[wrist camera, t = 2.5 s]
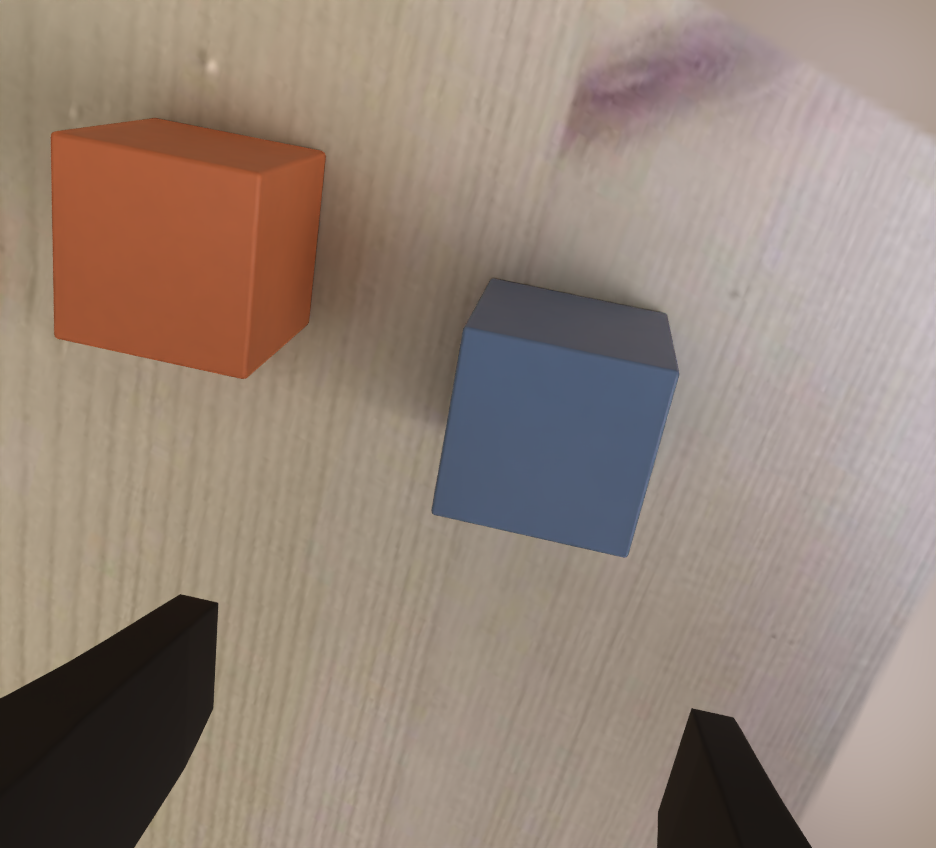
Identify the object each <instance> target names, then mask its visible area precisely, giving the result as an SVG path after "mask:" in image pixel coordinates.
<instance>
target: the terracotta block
mask: <svg viewBox="0 0 936 848" xmlns="http://www.w3.org/2000/svg"><path fill="white" fill-rule="evenodd" d="M325 158H326V156H325V153H324V152H323V151H320V150H315V149H310V148H305V147H300V146H295V145H290V144H284V143H279V142H274V141H269V140H264V139H259V138H254V137H249V136H244V135H239V134H234V133H229V132H224V131H219V130H214V129H209V128H203V127H198V126H193V125H188V124H183V123H178V122H173V121H168V120H163V119H158V118H151V119H143V120H136V121H128V122H121V123H113V124H106V125H98V126H91V127H83V128H76V129H68V130H61V131H55V132H52V134H51V178H52V233H53V288H54V335H55V337H56V338H57V339H61V340H66V341H71V342H75V343H80V344H84V345H89V346H94V347H98V348H103V349H107V350H112V351H117V352H121V353H126V354H130V355H135V356H140V357H144V358H149V359H153V360H158V361H163V362H167V363H172V364H176V365H181V366H186V367H190V368H195V369H199V370H204V371H208V372H213V373H218V374H222V375H227V376H231V377H236V378H241V379H245V378H247V377H248V376H250V375H251V374H252V373H253V372H254V371H255V370H256V369H258V368H259V367H260V366H261V365H262V364H263V363H264V362H266V361H267V360H268V359H269V358H270V357H271V356H272V355H274V354H275V353H276V352H277V351H278V350H279V349H280V348H282V347H283V346H284V345H285V344H286V343H287V342H288V341H290V340H291V339H292V338H293V337H294V336H295V335H296V334H298V333H299V332H300V331H301V330H302V329H303V328H304V327H306V326H307V325H308V323H309V316H310V306H311V296H312V286H313V276H314V266H315V257H316V247H317V237H318V227H319V217H320V207H321V197H322V188H323V178H324V168H325Z"/></svg>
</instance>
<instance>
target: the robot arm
mask: <svg viewBox="0 0 936 848" xmlns="http://www.w3.org/2000/svg"><path fill="white" fill-rule="evenodd" d="M217 621H218V603H217V602H213V601H208V600H204V599H199V598H195V597H190V596H186V595H181V594H180V595H178V596H177V597H175V598H173V599H172V600H170V601H168V602H167V603H165V604H163V605H162V606H160V607H158V608H157V609H155V610H154V611H152V612H150V613H149V614H147V615H145V616H144V617H142V618H141V619H139V620H137V621H136V622H134V623H132V624H131V625H129V626H128V627H126V628H124V629H123V630H121V631H120V632H118V633H116V634H115V635H113V636H111V637H110V638H108V639H107V640H105V641H103V642H102V643H100V644H98V645H96V646H95V647H93V648H91V649H90V650H88V651H86V652H85V653H83V654H81V655H80V656H78V657H76V658H74V659H73V660H71V661H69V662H68V663H66V664H64V665H62V666H60V667H59V668H57V669H55V670H53V671H51V672H49V673H47V674H46V675H44V676H42V677H40V678H38V679H36V680H34V681H32V682H31V683H29V684H27V685H25V686H23V687H21V688H19V689H18V690H16V691H14V692H12V693H10V694H8V695H6V696H4V697H2V698H0V848H134V847H135V846H136V844H137V842H138V841H139V839H140V838H141V836H142V835H143V833H144V832H145V830H146V828H147V827H148V825H149V824H150V822H151V821H152V819H153V818H154V816H155V815H156V813H157V811H158V810H159V808H160V807H161V805H162V803H163V802H164V800H165V799H166V797H167V796H168V794H169V792H170V791H171V789H172V788H173V786H174V785H175V783H176V781H177V780H178V778H179V777H180V775H181V773H182V772H183V770H184V768H185V767H186V765H187V762H188V760H189V758H190V756H191V754H192V752H193V750H194V748H195V746H196V744H197V742H198V740H199V738H200V736H201V734H202V732H203V729H204V727H205V725H206V723H207V721H208V719H209V716H210V714H211V712H212V710H213V702H214V682H215V662H216V641H217ZM657 848H812V847H811V845H810V844H809V842H808V841H807V839H806V837H805V836H804V835H803V833H802V831H801V830H800V828H799V826H798V825H797V823H796V822H795V820H794V819H793V817H792V815H791V814H790V812H789V811H788V809H787V807H786V806H785V804H784V803H783V801H782V799H781V798H780V796H779V794H778V793H777V791H776V789H775V788H774V786H773V784H772V782H771V781H770V779H769V777H768V776H767V774H766V772H765V771H764V769H763V767H762V765H761V764H760V762H759V760H758V758H757V757H756V755H755V753H754V751H753V750H752V748H751V746H750V744H749V743H748V741H747V739H746V737H745V736H744V734H743V732H742V730H741V729H740V727H739V725H738V724H737V722H736V721H735V719H734V718H733V717H729V716H724V715H720V714H715V713H711V712H706V711H702V710H697V709H693V708H691V712H690V715H689V718H688V721H687V724H686V727H685V730H684V733H683V736H682V739H681V743H680V746H679V749H678V752H677V755H676V758H675V761H674V764H673V767H672V770H671V774H670V777H669V780H668V783H667V786H666V789H665V792H664V795H663V798H662V802H661V805H660V808H659V811H658V838H657Z"/></svg>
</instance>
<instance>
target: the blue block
mask: <svg viewBox="0 0 936 848" xmlns="http://www.w3.org/2000/svg"><path fill="white" fill-rule="evenodd" d="M678 377H679V369H678V365H677V360H676V355H675V350H674V346H673V341H672V336H671V331H670V327H669V322H668V317H667V315H666V314H665V313H660V312H655V311H650V310H645V309H640V308H636V307H631V306H626V305H621V304H616V303H611V302H606V301H601V300H596V299H592V298H587V297H582V296H577V295H572V294H567V293H562V292H557V291H553V290H548V289H543V288H538V287H533V286H528V285H523V284H518V283H514V282H509V281H504V280H499V279H494V278H493V279H491V280H490V281H489V283H488V285H487V287H486V288H485V290H484V292H483V294H482V296H481V298H480V299H479V301H478V303H477V305H476V307H475V308H474V310H473V312H472V314H471V316H470V318H469V319H468V321H467V323H466V325H465V327H464V328H463V333H462V339H461V344H460V350H459V356H458V362H457V367H456V373H455V379H454V384H453V390H452V396H451V402H450V407H449V413H448V419H447V424H446V430H445V436H444V442H443V447H442V453H441V459H440V465H439V470H438V476H437V482H436V487H435V493H434V499H433V505H432V510H431V511H432V514H434V515H438V516H442V517H447V518H451V519H455V520H460V521H464V522H469V523H473V524H478V525H482V526H487V527H491V528H495V529H500V530H504V531H509V532H513V533H518V534H522V535H526V536H531V537H535V538H540V539H544V540H549V541H553V542H558V543H562V544H566V545H571V546H575V547H580V548H584V549H589V550H593V551H597V552H602V553H606V554H611V555H615V556H620V557H627V556H628V554H629V551H630V547H631V544H632V540H633V537H634V533H635V530H636V526H637V522H638V519H639V515H640V512H641V508H642V505H643V501H644V498H645V494H646V491H647V487H648V484H649V480H650V476H651V473H652V469H653V466H654V462H655V459H656V455H657V452H658V448H659V445H660V441H661V438H662V434H663V430H664V427H665V423H666V420H667V416H668V413H669V409H670V406H671V402H672V399H673V395H674V392H675V388H676V384H677V381H678Z"/></svg>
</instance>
